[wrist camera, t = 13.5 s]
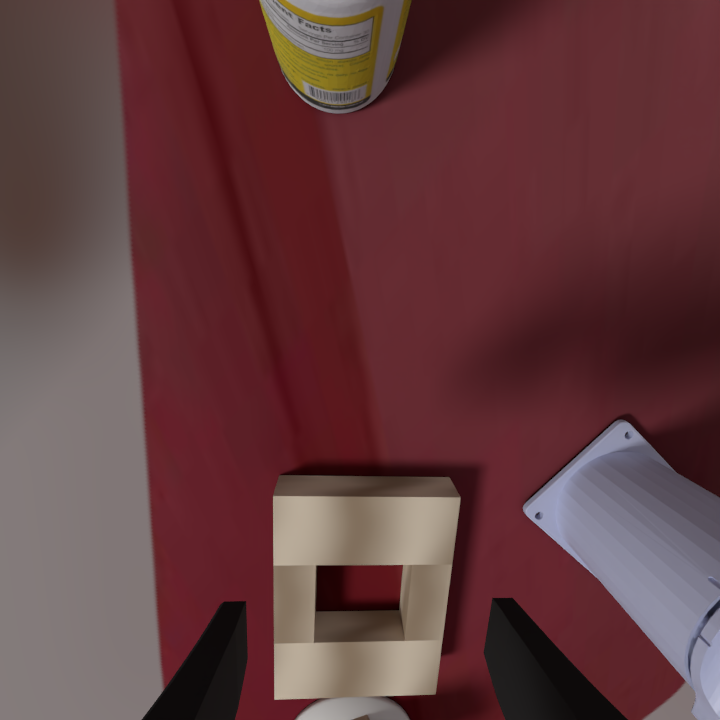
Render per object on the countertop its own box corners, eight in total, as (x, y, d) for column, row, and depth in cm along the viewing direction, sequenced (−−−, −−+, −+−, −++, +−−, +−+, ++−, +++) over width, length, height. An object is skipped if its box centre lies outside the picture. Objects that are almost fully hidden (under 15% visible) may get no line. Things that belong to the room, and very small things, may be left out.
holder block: (449, 477, 21) (460, 497, 19) (427, 660, 24) (435, 694, 22) (279, 475, 20) (273, 496, 18) (279, 664, 24) (274, 699, 22)
